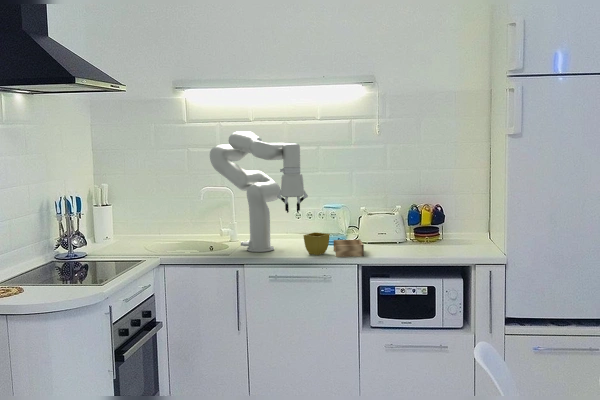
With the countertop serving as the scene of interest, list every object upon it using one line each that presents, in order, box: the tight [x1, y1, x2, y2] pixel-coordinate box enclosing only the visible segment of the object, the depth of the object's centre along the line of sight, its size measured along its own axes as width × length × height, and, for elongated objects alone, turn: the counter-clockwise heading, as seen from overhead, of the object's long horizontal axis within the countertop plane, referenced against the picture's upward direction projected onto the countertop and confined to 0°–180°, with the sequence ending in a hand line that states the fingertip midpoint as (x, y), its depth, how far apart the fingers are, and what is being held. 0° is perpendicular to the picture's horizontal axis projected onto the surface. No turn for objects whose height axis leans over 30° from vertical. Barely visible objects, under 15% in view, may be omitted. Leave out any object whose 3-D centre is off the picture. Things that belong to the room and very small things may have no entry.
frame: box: [333, 238, 365, 258], centre depth 292 cm, size 12×15×5 cm
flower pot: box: [303, 232, 331, 256], centre depth 292 cm, size 9×9×9 cm
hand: (292, 211), depth 290 cm, fingers open, 3 cm apart
